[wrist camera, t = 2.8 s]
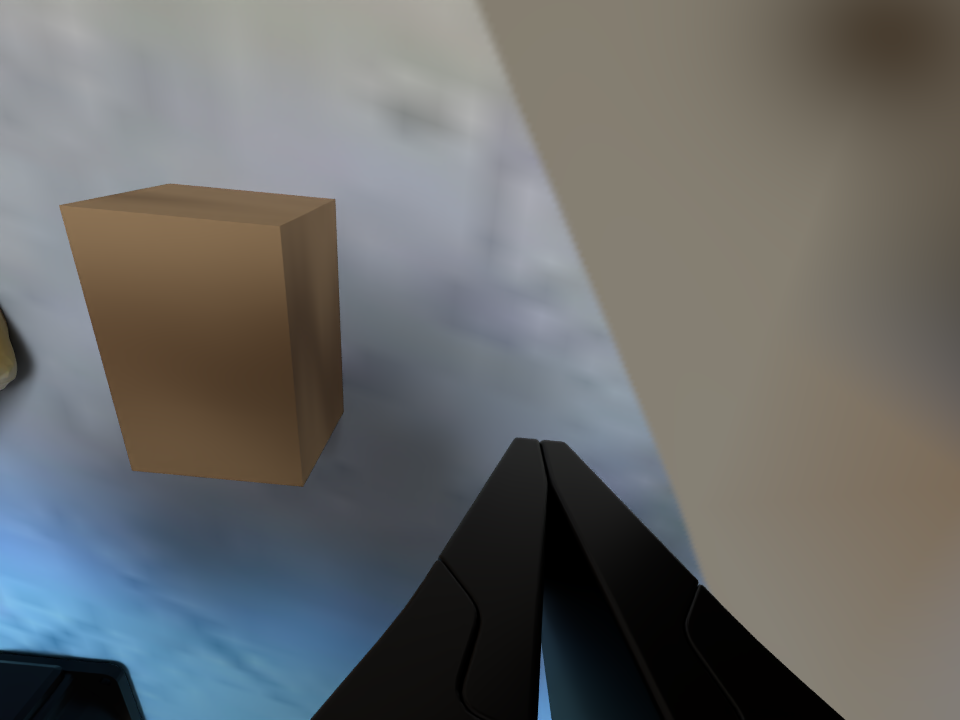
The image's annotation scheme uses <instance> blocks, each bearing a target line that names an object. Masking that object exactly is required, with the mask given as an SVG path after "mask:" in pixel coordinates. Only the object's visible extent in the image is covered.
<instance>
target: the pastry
mask: <svg viewBox="0 0 960 720" xmlns="http://www.w3.org/2000/svg"><path fill="white" fill-rule="evenodd" d="M16 374H17V362H16V358H15V354H14V350H13V348H12V345H11V342H10V340H9V333H8V326H7V322H6V319H5V317H4V315H3V313H2V311H1V309H0V390H2V389H4V388H5V387H6V386H7V384H8V383H9V382H11V381H12V380H14V379H15V377H16Z"/></svg>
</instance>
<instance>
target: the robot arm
mask: <svg viewBox="0 0 960 720" xmlns="http://www.w3.org/2000/svg"><path fill="white" fill-rule="evenodd" d="M541 643H542V650H543V658H544V665H545V673H546V681H547V688H548V696H549V703H550V711H551V718H552V720H845V719H844V718H843V717H842V716H840V715H839V714H838V713H837V712H836V711H835V710H834V709H833V708H831V707H830V706H829V705H828V704H827V703H826V702H825V701H824V700H822V699H821V698H820V697H819V696H818V695H817V694H816V693H815V692H814V691H812V690H811V689H810V688H809V687H808V686H807V685H806V684H805V683H803V682H802V681H801V680H800V679H799V678H798V677H797V676H796V675H794V674H793V673H792V672H791V671H790V670H789V669H788V668H787V667H786V666H785V665H784V664H782V662H781V661H779V660H778V659H777V658H776V657H775V656H774V655H773V654H772V653H771V652H770V651H769V650H767V649H766V648H765V647H764V646H763V645H762V644H761V643H760V642H759V641H758V640H757V639H755V637H753V635H752V634H750V632H748V631H747V629H746V628H745V627H744V626H743V625H741V623H739V622H738V621H737V620H736V619H735V618H734V617H733V616H732V615H731V614H730V613H729V612H728V611H727V610H726V609H725V608H724V607H723V606H722V605H721V604H720V602H719V601H718V600H717V599H716V598H715V597H714V596H713V595H712V594H711V593H710V592H709V591H708V590H707V589H706V588H705V587H704V586H703V585H698V580H697V579H696V578H695V577H694V576H693V575H692V574H691V573H690V572H689V571H688V570H687V569H686V568H685V566H684V565H683V564H682V563H681V562H680V561H679V560H678V559H677V558H676V557H675V556H674V555H673V554H672V553H671V552H670V551H669V550H668V549H667V548H666V547H665V546H664V545H663V544H662V543H661V542H660V541H659V539H658V538H657V537H656V536H655V535H654V534H653V533H652V532H651V531H650V530H649V529H648V528H647V527H646V526H645V525H644V524H643V523H642V522H641V521H640V520H639V519H638V518H637V517H636V516H635V515H634V514H633V512H632V511H631V510H630V509H629V508H628V507H627V506H626V505H625V504H624V503H623V502H622V501H621V500H620V499H619V498H618V497H617V496H616V495H615V494H614V493H613V492H612V491H611V490H610V489H609V488H608V487H607V486H606V484H605V483H604V482H603V481H602V480H601V479H600V478H599V477H598V476H597V475H596V474H595V473H594V472H593V471H592V470H591V469H590V468H589V467H588V466H587V465H586V464H585V463H584V462H583V461H582V460H581V459H580V457H579V456H578V455H577V454H576V453H575V452H574V451H573V450H572V449H571V448H570V447H569V446H568V445H567V444H566V443H564V442H561V441H550V440H542V441H541V442H540V443H539V441H538V440H536V439H528V438H515V439H514V440H513V441H512V443H511V444H510V446H509V448H508V449H507V451H506V452H505V454H504V455H503V457H502V459H501V460H500V462H499V463H498V465H497V466H496V468H495V470H494V471H493V473H492V474H491V476H490V477H489V479H488V481H487V482H486V484H485V485H484V487H483V488H482V490H481V492H480V493H479V495H478V496H477V498H476V499H475V501H474V503H473V504H472V506H471V507H470V509H469V510H468V512H467V514H466V515H465V517H464V518H463V520H462V521H461V523H460V525H459V526H458V528H457V529H456V531H455V532H454V534H453V536H452V537H451V539H450V540H449V542H448V543H447V545H446V546H445V548H444V550H443V551H442V553H441V554H440V556H439V558H438V560H437V561H436V562H435V563H434V565H433V566H432V568H431V569H430V571H429V573H428V574H427V576H426V577H425V579H424V580H423V582H422V583H421V585H420V586H419V588H418V589H417V590H416V592H415V593H414V595H413V596H412V598H411V599H410V601H409V602H408V603H407V605H406V606H405V608H404V609H403V610H402V611H401V613H400V614H399V615H398V616H397V618H396V619H395V620H394V621H393V623H392V624H391V625H390V626H389V628H388V629H387V630H386V631H385V633H384V634H383V635H382V636H381V638H380V639H379V640H378V641H377V642H376V644H375V645H374V646H373V647H372V648H371V649H370V651H369V652H368V653H367V654H366V655H365V656H364V658H363V659H362V660H361V661H360V662H359V663H358V664H357V666H356V667H355V668H354V669H353V670H352V671H351V673H350V674H349V675H348V676H347V677H346V678H345V680H344V681H343V682H342V683H341V684H340V685H339V687H338V688H337V689H336V690H335V691H334V692H333V694H332V695H331V696H330V697H329V698H328V699H327V701H326V702H325V703H324V704H323V705H322V706H321V708H320V709H319V710H318V711H317V712H316V713H315V715H314V716H313V717H312V718H311V719H310V720H538V700H539V679H540V658H541ZM0 720H141V717H140V714H139V711H138V708H137V706H136V703H135V700H134V697H133V694H132V692H131V689H130V686H129V683H128V681H127V678H126V675H125V673H124V671H123V670H122V669H121V668H120V667H118V666H116V665H113V664H106V663H95V662H85V661H74V660H63V659H53V658H42V657H31V656H21V655H10V654H0Z"/></svg>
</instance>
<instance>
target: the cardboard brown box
mask: <svg viewBox="0 0 960 720" xmlns="http://www.w3.org/2000/svg"><path fill="white" fill-rule="evenodd" d="M59 206H60V210H61V214H62V217H63V221H64V225H65V228H66V232H67V236H68V239H69V243H70V246H71V250H72V254H73V257H74V261H75V265H76V268H77V272H78V275H79V279H80V283H81V286H82V290H83V294H84V297H85V301H86V305H87V308H88V312H89V315H90V319H91V323H92V326H93V330H94V334H95V337H96V341H97V345H98V348H99V352H100V355H101V359H102V363H103V366H104V370H105V374H106V377H107V381H108V385H109V388H110V392H111V395H112V399H113V403H114V406H115V410H116V414H117V417H118V421H119V425H120V428H121V432H122V435H123V439H124V443H125V446H126V450H127V454H128V457H129V461H130V465H131V468H132V471H141V472H152V473H163V474H173V475H184V476H195V477H205V478H216V479H226V480H237V481H248V482H258V483H269V484H280V485H290V486H301V487H303V486H304V484H305V482H306V480H307V478H308V477H309V475H310V473H311V471H312V469H313V467H314V466H315V464H316V462H317V460H318V458H319V456H320V454H321V453H322V451H323V449H324V447H325V445H326V443H327V442H328V440H329V438H330V436H331V434H332V432H333V430H334V429H335V427H336V425H337V423H338V421H339V419H340V417H341V416H342V414H343V412H344V408H343V382H342V357H341V332H340V306H339V281H338V256H337V230H336V205H335V199H327V198H316V197H306V196H295V195H284V194H274V193H263V192H253V191H242V190H232V189H221V188H211V187H200V186H190V185H179V184H165V185H160V186H155V187H150V188H145V189H140V190H135V191H130V192H125V193H120V194H114V195H109V196H104V197H99V198H94V199H89V200H84V201H79V202H74V203H69V204H64V205H59Z"/></svg>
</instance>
